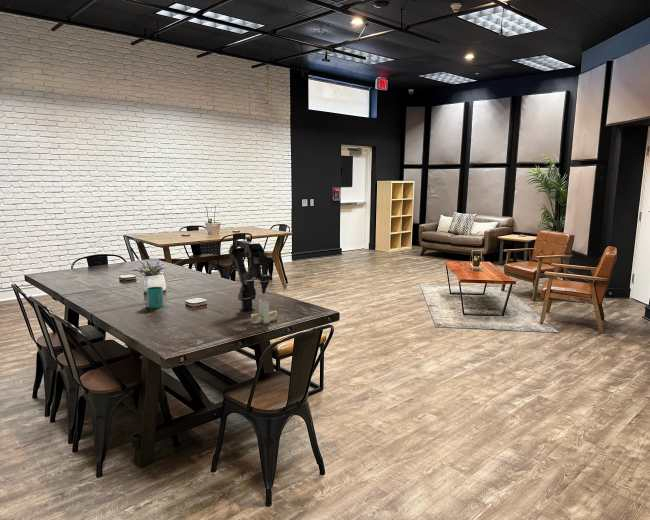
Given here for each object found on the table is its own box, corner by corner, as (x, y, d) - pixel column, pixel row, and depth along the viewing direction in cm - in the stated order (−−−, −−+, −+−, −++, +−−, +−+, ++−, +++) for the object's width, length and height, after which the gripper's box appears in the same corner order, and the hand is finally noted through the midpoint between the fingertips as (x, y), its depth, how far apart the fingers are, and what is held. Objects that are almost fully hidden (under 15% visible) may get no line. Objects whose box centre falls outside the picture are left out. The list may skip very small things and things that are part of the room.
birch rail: (252, 323, 251) (252, 315, 250) (251, 322, 252) (251, 314, 252) (277, 319, 257) (277, 311, 257) (275, 319, 259) (275, 310, 258)
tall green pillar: (259, 320, 257) (258, 300, 256) (264, 319, 259) (263, 299, 257) (264, 323, 251) (263, 302, 249) (269, 322, 253) (268, 302, 251)
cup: (151, 310, 278) (150, 291, 276) (146, 306, 287) (144, 287, 286) (167, 308, 283) (166, 289, 281) (161, 303, 292) (160, 285, 291)
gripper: (232, 266, 262) (235, 295, 263) (256, 266, 250) (258, 296, 251) (248, 265, 271) (250, 292, 272) (271, 264, 259) (273, 293, 260)
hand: (257, 293), depth 264 cm, fingers open, 9 cm apart
